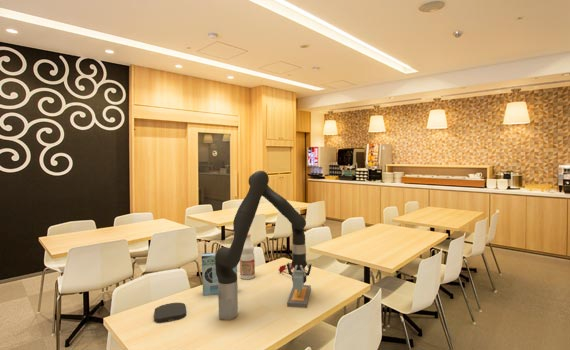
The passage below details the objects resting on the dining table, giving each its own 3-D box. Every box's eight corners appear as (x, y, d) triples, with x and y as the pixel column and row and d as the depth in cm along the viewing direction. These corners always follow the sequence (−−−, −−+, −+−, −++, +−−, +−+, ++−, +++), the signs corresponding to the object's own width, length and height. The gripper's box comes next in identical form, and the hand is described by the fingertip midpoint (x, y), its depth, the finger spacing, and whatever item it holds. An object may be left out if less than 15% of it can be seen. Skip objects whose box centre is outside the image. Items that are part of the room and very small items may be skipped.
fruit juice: (237, 276, 207) (236, 234, 206) (250, 273, 212) (249, 232, 211) (244, 281, 199) (243, 236, 198) (257, 277, 204) (256, 234, 203)
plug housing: (302, 289, 167) (302, 278, 166) (292, 289, 168) (292, 277, 167) (306, 275, 187) (306, 265, 187) (297, 274, 188) (297, 264, 188)
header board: (306, 307, 162) (306, 297, 162) (287, 306, 164) (287, 295, 164) (310, 288, 186) (310, 279, 186) (293, 287, 188) (293, 278, 187)
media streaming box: (154, 311, 162) (154, 305, 162) (184, 305, 167) (184, 300, 167) (154, 325, 148) (154, 318, 148) (187, 318, 153) (186, 312, 153)
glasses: (293, 268, 221) (293, 261, 221) (310, 275, 209) (310, 267, 209) (277, 273, 213) (277, 266, 212) (294, 280, 200) (294, 272, 200)
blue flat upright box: (237, 289, 186) (236, 251, 185) (237, 293, 181) (236, 253, 180) (203, 292, 183) (202, 252, 182) (202, 295, 178) (201, 255, 177)
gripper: (284, 253, 171) (285, 284, 172) (311, 254, 169) (311, 285, 170) (287, 249, 178) (287, 279, 179) (312, 250, 176) (313, 280, 177)
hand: (299, 282), depth 174 cm, fingers closed on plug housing, 5 cm apart
